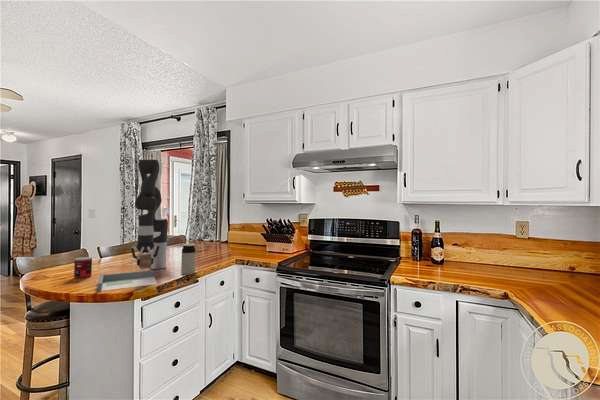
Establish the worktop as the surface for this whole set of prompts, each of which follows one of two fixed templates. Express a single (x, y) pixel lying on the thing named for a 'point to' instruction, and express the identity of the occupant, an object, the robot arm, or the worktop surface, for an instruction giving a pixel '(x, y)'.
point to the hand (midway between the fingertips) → (144, 265)
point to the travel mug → (188, 259)
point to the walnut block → (145, 261)
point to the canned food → (82, 267)
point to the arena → (126, 280)
